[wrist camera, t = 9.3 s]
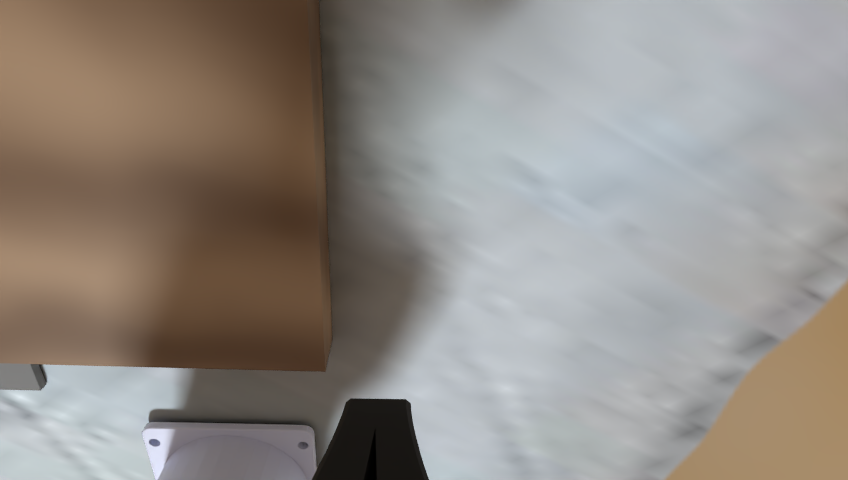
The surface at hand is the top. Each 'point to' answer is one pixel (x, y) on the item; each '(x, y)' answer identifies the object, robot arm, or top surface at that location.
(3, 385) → the mat
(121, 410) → the top surface
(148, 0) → the brown flat square slab
